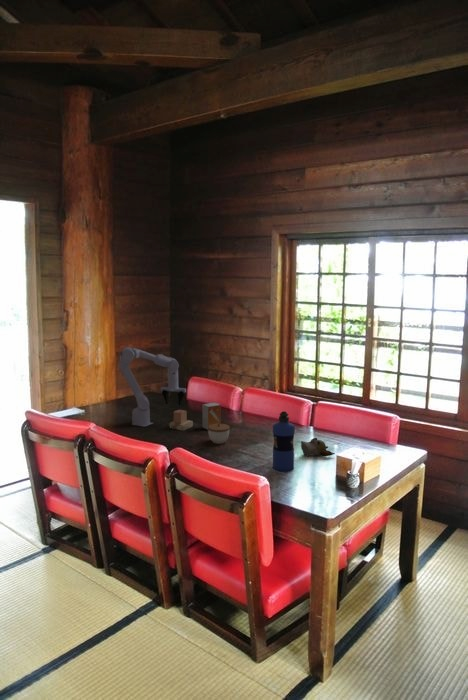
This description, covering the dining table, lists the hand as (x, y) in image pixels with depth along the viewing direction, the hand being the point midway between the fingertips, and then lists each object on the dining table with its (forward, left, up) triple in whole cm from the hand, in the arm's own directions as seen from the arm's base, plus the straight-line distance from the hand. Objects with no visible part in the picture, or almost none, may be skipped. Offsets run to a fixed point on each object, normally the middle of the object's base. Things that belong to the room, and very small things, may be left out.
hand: (173, 404), depth 296 cm
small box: (+24, +2, -11) cm, 26 cm away
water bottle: (+83, -32, -11) cm, 90 cm away
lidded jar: (+40, -16, -11) cm, 44 cm away
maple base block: (+9, -6, -11) cm, 15 cm away
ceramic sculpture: (+89, -10, -11) cm, 90 cm away
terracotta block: (+9, -6, -7) cm, 13 cm away
